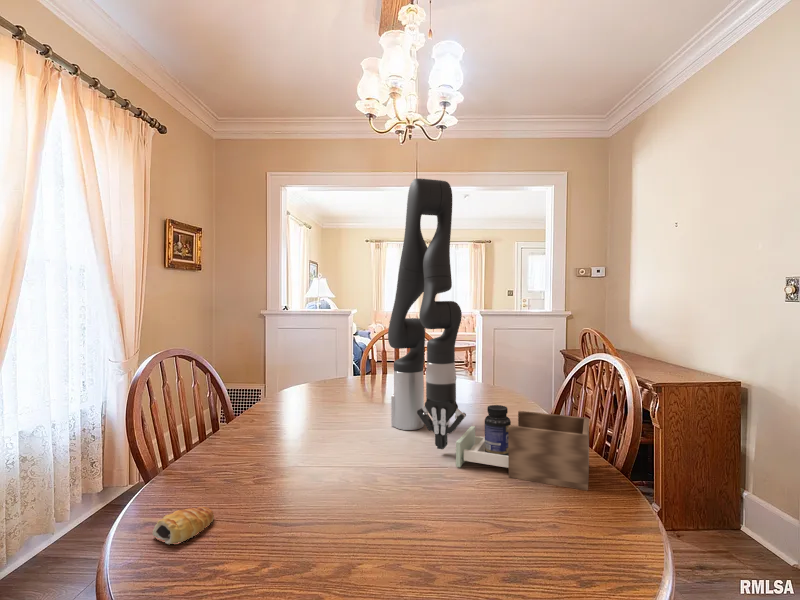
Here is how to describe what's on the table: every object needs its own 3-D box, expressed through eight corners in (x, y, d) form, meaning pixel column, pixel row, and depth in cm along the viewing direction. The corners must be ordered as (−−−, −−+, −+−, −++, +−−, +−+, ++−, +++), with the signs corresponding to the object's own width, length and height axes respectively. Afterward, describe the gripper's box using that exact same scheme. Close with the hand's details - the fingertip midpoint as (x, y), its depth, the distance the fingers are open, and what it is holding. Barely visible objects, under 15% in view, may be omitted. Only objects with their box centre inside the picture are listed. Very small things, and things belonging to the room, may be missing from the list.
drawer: (456, 466, 99) (455, 442, 99) (471, 447, 111) (471, 425, 111) (526, 478, 92) (526, 452, 92) (534, 456, 104) (534, 433, 104)
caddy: (508, 477, 93) (508, 426, 93) (519, 455, 106) (518, 410, 106) (587, 490, 87) (587, 436, 86) (589, 465, 99) (588, 418, 99)
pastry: (198, 514, 79) (198, 493, 79) (223, 523, 76) (223, 502, 76) (148, 540, 70) (148, 517, 70) (174, 551, 67) (174, 527, 67)
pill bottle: (511, 459, 98) (511, 411, 98) (484, 457, 99) (484, 410, 99) (510, 449, 104) (509, 404, 104) (484, 447, 105) (484, 403, 105)
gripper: (411, 380, 106) (411, 449, 107) (461, 384, 101) (462, 457, 101) (422, 375, 113) (422, 440, 113) (470, 379, 108) (470, 447, 108)
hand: (441, 448), depth 107 cm, fingers closed
